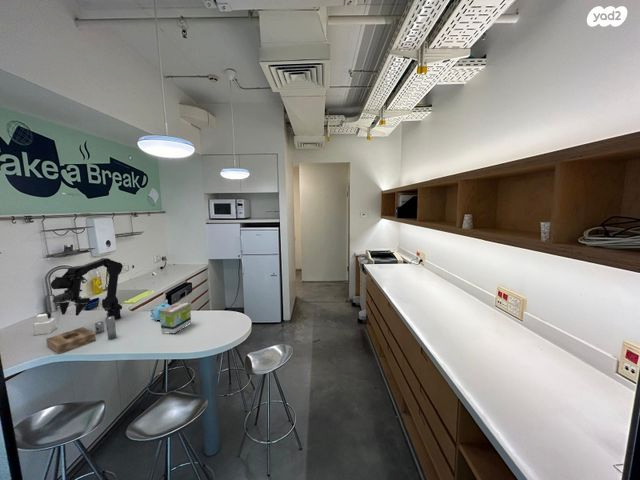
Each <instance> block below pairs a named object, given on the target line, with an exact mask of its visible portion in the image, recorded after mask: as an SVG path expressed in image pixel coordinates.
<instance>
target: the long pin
mask: <svg viewBox="0 0 640 480" xmlns="http://www.w3.org/2000/svg"><path fill="white" fill-rule="evenodd" d="M105 324H106V333H107V335H106V336H107V340H108V341H109V340H110V341H111V340H114V339H116V338H117V329H116V320H115V318H114V316H109V317H107V316H106V317H105Z"/></svg>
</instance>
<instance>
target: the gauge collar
mask: <svg viewBox="0 0 640 480" xmlns="http://www.w3.org/2000/svg"><path fill="white" fill-rule="evenodd" d="M95 341H97V339H96V332H93V331H91V330H90V329H87V328H86V327H84V326H82V327H79V328H76V329H72V330H70V331H67V332H66V331H65V332H63V333H60V334H57V335H53V336H50V337H47V338H46V346H47V348H49V349H51V350H52V351H53V352H55V353H56V354H58V355H60V354H62V353H63V354H64V353H65V352H68V351H71V350H75V349H77V348H79V347H82V346H85V345H88V344H91V343H93V342H95Z"/></svg>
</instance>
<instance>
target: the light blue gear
mask: <svg viewBox="0 0 640 480" xmlns="http://www.w3.org/2000/svg"><path fill="white" fill-rule="evenodd" d="M168 302H169V301H168V299H166V300H165V302H164V303H161V304H160V305H158V306H157V307H152V308H151V309H150V312H151V313H150V318H153V320H155V321H156V320H161V317H160V310H163V309H165V308H167V307H169V306H171V304H169V303H168Z"/></svg>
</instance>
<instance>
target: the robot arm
mask: <svg viewBox="0 0 640 480" xmlns="http://www.w3.org/2000/svg"><path fill="white" fill-rule="evenodd" d="M100 267H104V268H106V272H107V274H108V284H107V292H106V296H105V298H102V300H101V304H100V306H101V308H102V309H104V311H105V312H106V317H109V316H114V318H115V321H116V320H119V319H122V318H123V317H122V316H121V310H122V309H123V305H121V304H119V299H118V298H117V289H118V283H119V281H118V280H119V276H120V273H121V272H122V271H123V267H124V266H123V264H122V263H121V262H119V261H118V262H117V261H116V260H113V259H110V258H106V257H105V258H104V257H102V258H100V259H98V260H95V261H91V262H89V263H86V264H83V265H82V264H81V265H76V266H74V265H73V266H70V267H68V268H67V270H66V271H65V273H64V274H63V275H62V276H55V277H54V279H53V280H52V281H51V282H50V287H51V289H53V290H64V291H63V293H59V294H57V295H54V296H53V302H52V303H54V304H56V305H57V306H58V307H59V309H60V312H61V315H65V314H66V313H67V310H68V308H69V305H70V302H71V303H73V302H74V304H73V305H74V307H75V316H79V315H80V313H81V312H82V310H83V309H84V308H85V307H86V306H87V305H89V304H90V303H91V298H90V297H82V296H80V294H81V293H80V292H83V289H81V286H82V281H86V278H85V277H84V276H85V275H87V274H88V273H89V272H90V271H92V270H95V269H98V268H100Z"/></svg>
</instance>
